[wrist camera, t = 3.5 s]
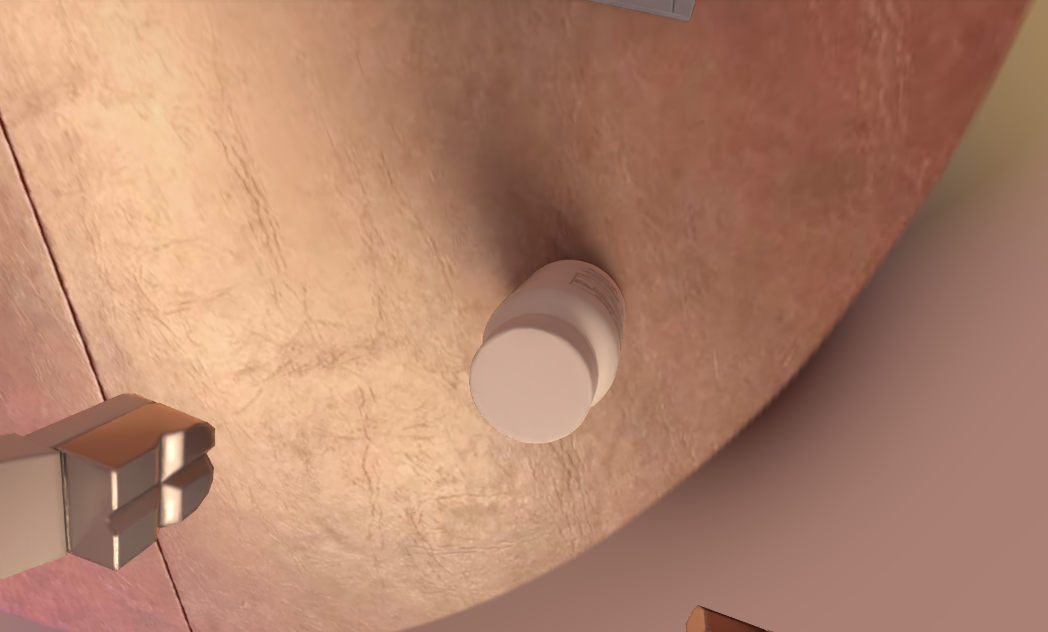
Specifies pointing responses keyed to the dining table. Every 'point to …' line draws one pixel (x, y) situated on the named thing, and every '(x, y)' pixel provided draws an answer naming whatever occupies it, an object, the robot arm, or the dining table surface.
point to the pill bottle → (549, 352)
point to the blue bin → (656, 7)
